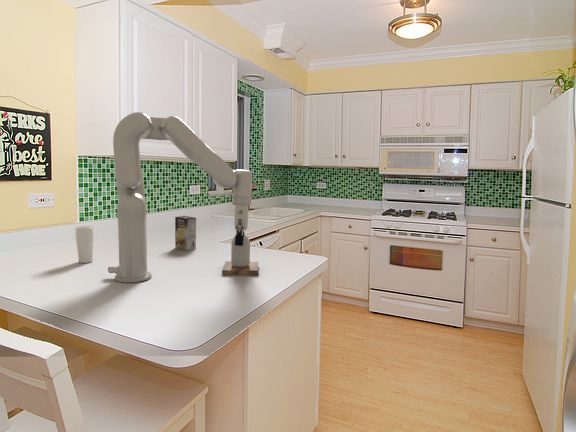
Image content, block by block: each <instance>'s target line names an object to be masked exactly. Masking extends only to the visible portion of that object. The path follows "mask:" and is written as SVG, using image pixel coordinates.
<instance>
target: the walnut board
mask: <svg viewBox="0 0 576 432" xmlns="http://www.w3.org/2000/svg"><path fill="white" fill-rule="evenodd" d="M221 276H251V277H252V276H254V277H255V276H259V261H250V264H249V265H248V266H247V267H244V268H237V267H234V266H233V265H232V264H231V260H230V261H229V260H228V261H227V260H226V261H224V264H223V267H222V270H221Z"/></svg>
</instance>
